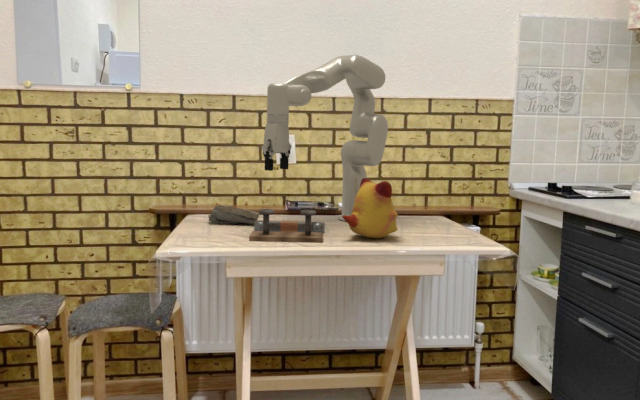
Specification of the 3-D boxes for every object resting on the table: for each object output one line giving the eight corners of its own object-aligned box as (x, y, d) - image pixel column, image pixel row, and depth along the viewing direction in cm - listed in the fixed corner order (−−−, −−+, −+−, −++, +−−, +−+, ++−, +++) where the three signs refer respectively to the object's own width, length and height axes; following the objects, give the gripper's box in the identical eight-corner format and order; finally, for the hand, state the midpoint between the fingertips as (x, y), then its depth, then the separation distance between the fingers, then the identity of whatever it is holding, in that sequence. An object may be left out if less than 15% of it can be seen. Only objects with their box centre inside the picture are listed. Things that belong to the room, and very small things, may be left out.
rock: (249, 238, 212) (259, 213, 212) (203, 220, 211) (214, 194, 211) (251, 237, 223) (261, 213, 223) (207, 219, 222) (217, 195, 222)
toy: (409, 240, 193) (412, 181, 190) (359, 247, 182) (361, 184, 179) (373, 230, 210) (375, 175, 207) (325, 235, 198) (326, 178, 196)
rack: (322, 236, 196) (323, 209, 195) (322, 242, 187) (323, 213, 186) (252, 235, 197) (252, 207, 195) (249, 240, 188) (249, 212, 186)
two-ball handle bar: (324, 231, 206) (324, 221, 206) (324, 234, 201) (324, 223, 201) (255, 229, 207) (255, 219, 206) (253, 232, 202) (253, 222, 201)
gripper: (281, 120, 207) (280, 167, 209) (254, 119, 192) (253, 170, 194) (299, 121, 204) (298, 169, 206) (273, 119, 189) (272, 171, 191)
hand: (276, 169), depth 200 cm, fingers open, 9 cm apart
